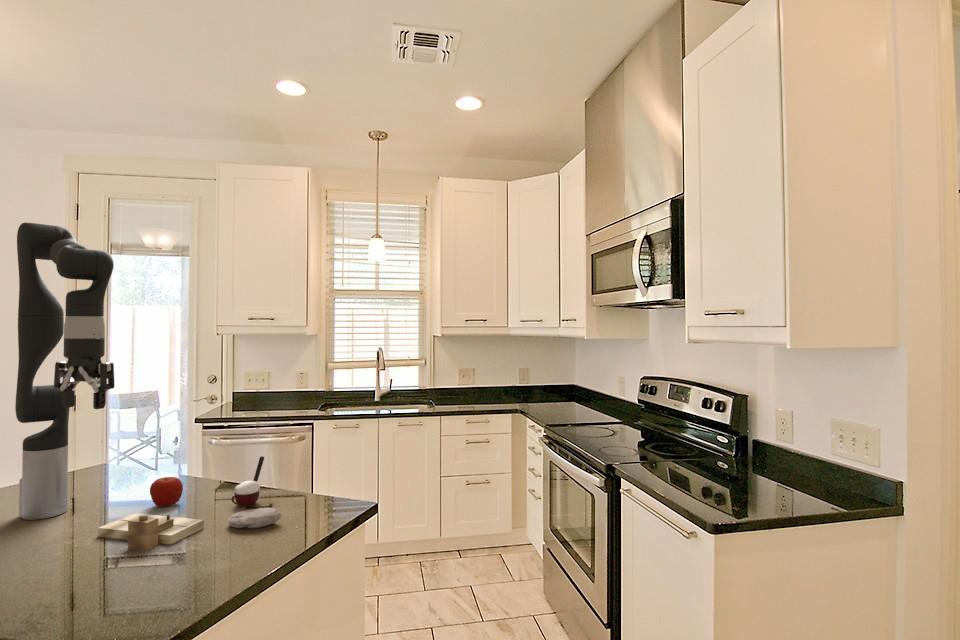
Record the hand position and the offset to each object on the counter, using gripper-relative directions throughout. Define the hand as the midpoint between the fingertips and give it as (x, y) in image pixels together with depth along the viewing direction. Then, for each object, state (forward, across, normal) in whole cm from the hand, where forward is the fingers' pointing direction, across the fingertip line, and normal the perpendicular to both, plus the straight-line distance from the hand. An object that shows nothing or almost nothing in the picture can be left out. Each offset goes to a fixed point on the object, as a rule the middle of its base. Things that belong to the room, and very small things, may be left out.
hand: (83, 407), depth 122 cm
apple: (+30, -1, +25) cm, 39 cm away
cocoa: (+30, +20, +31) cm, 48 cm away
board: (+30, +11, +8) cm, 33 cm away
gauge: (+30, +16, +4) cm, 34 cm away
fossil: (+31, +32, +18) cm, 47 cm away
